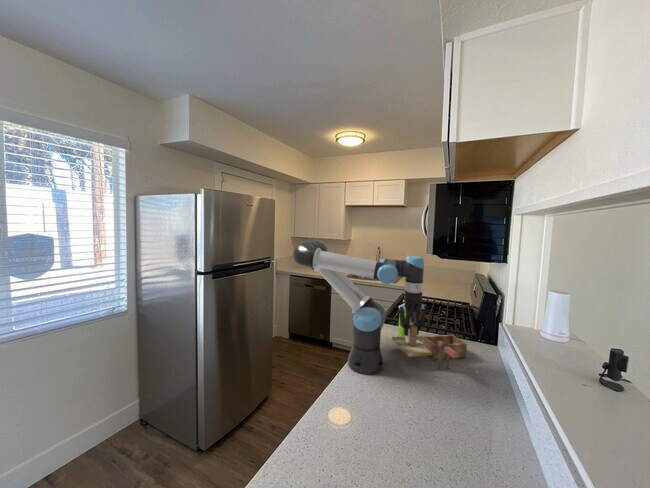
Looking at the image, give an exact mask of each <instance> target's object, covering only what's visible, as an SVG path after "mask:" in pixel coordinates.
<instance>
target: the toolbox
mask: <svg viewBox="0 0 650 488" xmlns="http://www.w3.org/2000/svg"><path fill="white" fill-rule="evenodd" d="M437 341H442V343H440V347H439V346H438V345H437ZM421 343H422V344H423V345H424V346H425V347H426V348H427V349H429V350H430V351H431V352H432V355H427V357H429V358H430V359H431V360H432V361H433V362H436V361H437V362H438V367H437V368H438V369H439V371H441V370H442V369H443V368H442V366H443V361H445V369H446V370H449V368H450V361H451V360H453V361H454V360H465V359H466V358H467V347H468V343H466V342H465V341H464V340H462V339H460V338H458V337H457V336H456V335H455V334H440V335H438V334H437V335H424V336H422V342H421ZM443 345H448V346H449V347H450V348H452V349H453V350H454V351H456V352H457V353H458V354H457V357H455V358H452V357H451V356H450V355H449V354H447V353H446V352H445V351H444V350H443Z"/></svg>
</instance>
